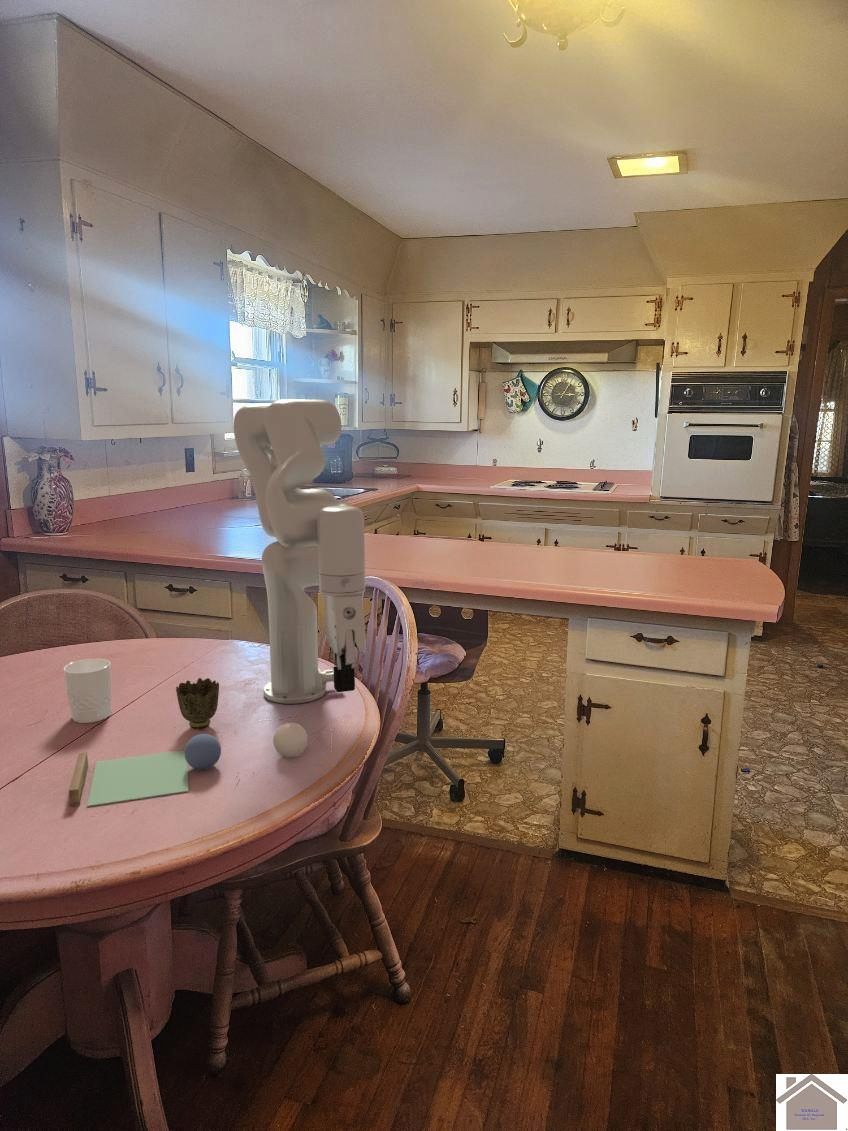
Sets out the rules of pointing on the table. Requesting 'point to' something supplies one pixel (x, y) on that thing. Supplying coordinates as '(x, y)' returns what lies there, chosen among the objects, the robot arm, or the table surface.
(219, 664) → the table surface
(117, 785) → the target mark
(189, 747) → the object ball
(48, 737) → the table surface
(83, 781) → the stop rail
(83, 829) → the table surface
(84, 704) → the white cup
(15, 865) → the table surface
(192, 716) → the cup
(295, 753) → the cream ball
